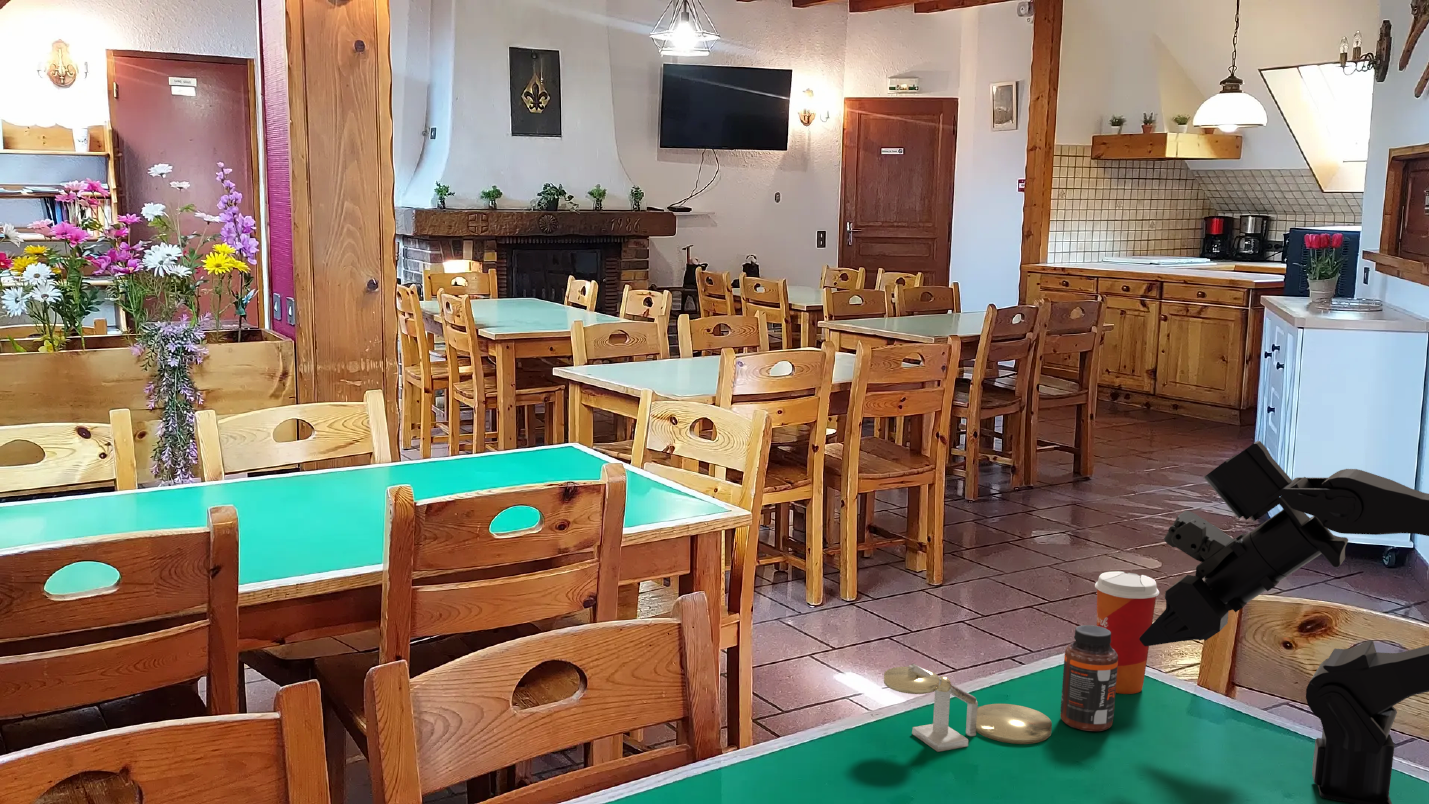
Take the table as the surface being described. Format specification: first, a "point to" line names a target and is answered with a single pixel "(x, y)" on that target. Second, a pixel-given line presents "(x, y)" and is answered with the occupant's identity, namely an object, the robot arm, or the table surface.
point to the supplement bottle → (1089, 680)
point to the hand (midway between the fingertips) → (1154, 631)
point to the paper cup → (1127, 622)
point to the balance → (986, 720)
